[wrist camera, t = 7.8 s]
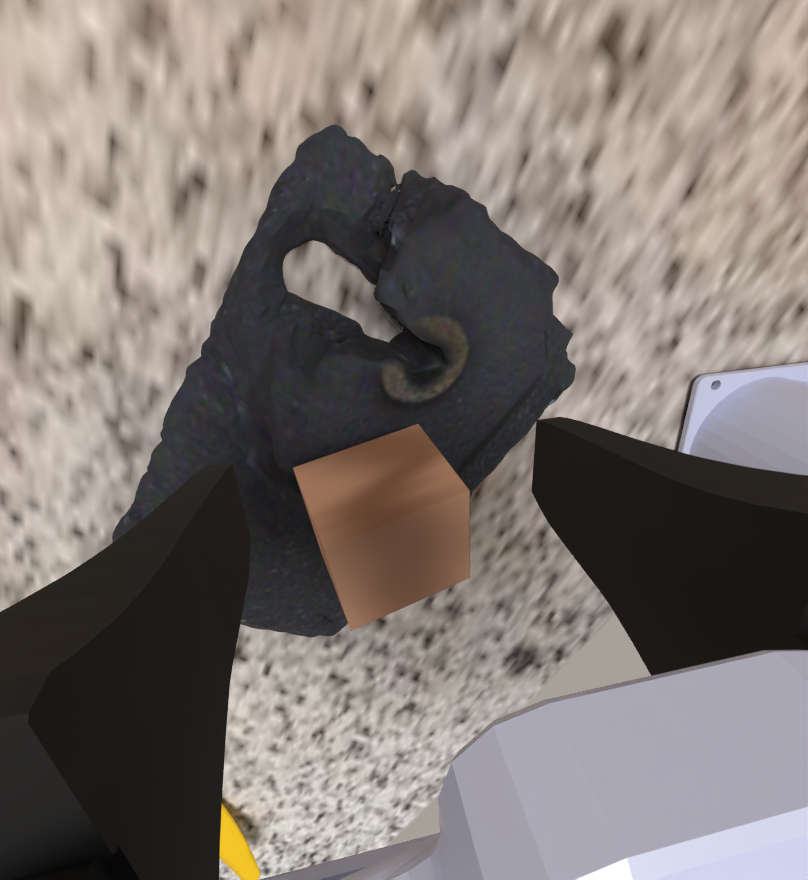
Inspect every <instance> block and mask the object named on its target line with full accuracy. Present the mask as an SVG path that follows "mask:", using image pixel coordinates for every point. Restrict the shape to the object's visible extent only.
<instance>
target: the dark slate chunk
mask: <svg viewBox="0 0 808 880" xmlns="http://www.w3.org/2000/svg"><path fill="white" fill-rule="evenodd" d="M393 185H396V190H393V191H392V192H390V190H391V187H392V186H393ZM398 189H401V190H400V193H399V192H398ZM311 240H315V241H319V242H322V243H325V244H327V245H328V246H329V247H330V248H331V249H332V250H333V251H334V252H336V253H337V254H340V255H342V256H344V257H345V258H346V259H347V260H349V261H350V262H352V263H354V264H355V265H357V266H358V267H359V268H360V270H361V272H362V273H363V275H364V276H365V278H366V279H367V280H368V281H369V282H370V283H372V284H375V285H376V288H375V291H374V296H375V299H376V300H378V301H379V302H380V303H381V305H382V306H383V307H384V308H385V309H386V310H387V311H388V312H389V313H390V314H391V315H392V316H393V317H394V318H395V319H396V320H398V321H399V322H400V323H401V324H402V325H403V326H404V330H403V332H401V333H400V334H398V335H397V336H395V337H394V338H393V339H392V340H391V341H390V342H389V343H388V342H385V341H382V340H379V339H375V338H372V337H369V336H367V335H365V334H364V333H363V330H362V328H361V326H360V324H359V323H358V322H356V321H354V320H352V319H350V318H348V317H345V316H344V315H342V314H340V313H338V312H336V311H334V310H331V309H328V308H325V307H323V306H320V305H317V304H314V303H311V302H309V301H307V300H304V299H302V298H301V297H299V296H297V295H295V294H293V293H290V292H288V291H287V290H286V287H285V284H284V282H283V271H282V266H283V260H284V258H285V255H286V254H287V253H288V252H289V251H290V250H291V249H293V248H294V247H296V246H298V245H300V244H302V243H305V242H307V241H311ZM558 282H559V277H558V275H557V274H556V272H555V271H554V270H553V269H552V268H551V267H550V266H548V265H547V264H545V263H544V262H543V261H542V260H541V259H540V258H538V257H537V256H535V255H534V254H532V253H530V252H528V251H526V250H524V249H523V248H522V247H521V246H520V245H519V244H518V243H517V242H516V241H515V240H514V239H513V238H512V237H510V236H509V235H507V234H506V233H504V232H502V231H500V229H499V228H498V227H497V226H496V225H495V224H494V223H493V222H492V221H491V220H490V218H489V216H488V212H487V209H486V207H485V206H484V205H482V204H480V203H478V202H476V201H475V200H473V199H471V197H470V195H469V194H468V193H467V192H466V191H464V190H462V189H460V188H457V187H455V186H452V185H445V184H443V183H442V182H440V181H439V180H438V179H436V178H435V177H432V178H424V177H422V176H420V175H419V174H418V173H417V172H416V171H414V170H410V171H408V172H406V173H405V174H404V175H403V179H402V184H397V183H396V179H395V174H394V168H393V166H392V164H391V163H390V161H389V160H388V159H387V158H386V157H384V156H383V155H379V156H376V155H374V154H373V153H371V152H370V151H369V150H368V149H367V147H366V146H365V145H364V144H363V143H362V142H361V141H360V140H359V139H358V138H355V137H350V136H347V134H346V132H345V130H344V129H343V128H342V127H340V126H338V125H331V126H329V127H327V128H325V129H323V130H322V131H320V132H318V133H316V134H314V135H312V136H310V137H309V138H307V139H306V140H305V141H304V142H303V143H301V144H300V145H299V146H298V149H297V151H296V157H295V160H294V162H293V163H292V164H291V165H290V166H289V167H288V168H286V169H285V171H284V172H283V173H282V174H281V176H280V177H279V178H278V180H277V182H276V183H275V185H274V187H273V188H272V190H271V193H270V196H269V200H268V204H267V208H266V210H265V212H264V213H263V215H262V216H261V218H260V220H259V223H258V227H257V230H256V232H255V234H254V236H253V237H252V238H251V240H250V241H249V242H248V244H247V245H246V247H245V249H244V251H243V253H242V256H241V259H240V262H239V264H238V266H237V268H236V270H235V272H234V274H233V276H232V278H231V281H230V284H229V287H228V289H227V290H226V292H225V294H224V297H223V303H222V305H221V307H220V308H219V310H218V311H217V313H216V316H215V319H214V320H213V321H212V323H211V331H210V337H209V338H208V339H207V340H206V341H205V342H204V343H203V345H202V349H201V357H200V358H199V359H197V360H196V361H195V362H193V363H192V364H191V365H189V366H188V367H187V370H186V377H185V380H184V382H183V384H182V386H181V387H180V389H179V391H178V392H177V394H176V395H175V397H174V398H173V400H172V402H171V404H170V406H169V408H168V410H167V413H166V415H165V418H164V422H163V429H162V431H161V438H162V441H161V442H160V443H159V444H158V446H157V447H156V448H155V449H154V451H153V452H152V455H151V460H150V463H149V465H148V467H147V469H148V471H147V472H146V473H145V474H144V475H143V476H142V478H141V480H140V483H139V486H138V489H137V492H136V496H135V500H134V502H133V504H132V506H131V508H130V509H129V510H128V512H127V513H126V514H125V515H124V516H123V517H122V518H121V520H120V521H119V523H118V525H117V526H116V528H115V530H114V532H113V542H115V541H116V540H117V539H119V538H120V537H121V536H122V535H124V534H125V533H126V532H127V531H129V530H130V529H131V528H132V527H134V526H135V525H136V524H137V523H139V522H140V521H141V520H142V519H144V518H145V517H146V516H147V515H149V514H150V513H151V512H152V511H153V510H154V509H156V508H157V507H158V506H159V505H160V504H161V503H162V502H164V501H165V500H166V499H167V498H168V497H169V496H170V495H172V494H173V493H174V492H175V491H176V490H177V489H178V488H179V487H180V486H182V485H183V484H184V483H185V482H186V481H187V480H188V479H189V478H191V477H192V476H193V475H194V474H195V473H196V472H198V471H199V470H200V469H202V468H203V467H206V466H214V465H221V464H228V463H232V464H233V468H234V472H235V476H236V480H237V484H238V488H239V492H240V496H241V500H242V504H243V508H244V512H245V516H246V520H247V524H248V528H249V532H250V536H251V548H250V571H249V579H248V585H247V591H246V596H245V601H244V607H243V612H242V617H241V622H240V624H242V625H246V626H248V627H252V628H257V629H268V630H273V631H277V632H288V633H290V634H294V635H300V636H306V637H315V636H318V635H322V636H333V635H335V634H336V633H337V632H339V631H340V630H341V629H342V628H343V627H344V626H345V625H346V624H347V623H348V622H347V619H346V617H345V614H344V611H343V609H342V606H341V603H340V601H339V598H338V595H337V593H336V590H335V587H334V585H333V582H332V580H331V577H330V574H329V572H328V569H327V566H326V564H325V561H324V558H323V556H322V553H321V550H320V547H319V544H318V541H317V538H316V535H315V532H314V529H313V526H312V523H311V520H310V517H309V514H308V511H307V508H306V505H305V502H304V499H303V496H302V493H301V490H300V487H299V484H298V481H297V478H296V475H295V472H294V470H293V468H294V467H297V466H299V465H302V464H305V463H308V462H311V461H314V460H317V459H319V458H322V457H325V456H328V455H331V454H334V453H337V452H339V451H342V450H345V449H348V448H351V447H354V446H356V445H359V444H362V443H365V442H368V441H371V440H374V439H376V438H379V437H382V436H385V435H388V434H391V433H393V432H396V431H399V430H402V429H405V428H408V427H411V426H413V425H416V424H419V426H420V427H421V428H422V429H423V431H424V432H425V433H426V435H427V436H428V437H429V439H430V440H431V441H432V442H433V444H434V445H435V446H436V448H437V449H438V450H439V452H440V453H441V454H442V455H443V457H444V458H445V459H446V461H447V462H448V463H449V465H450V466H451V467H452V468H453V470H454V471H455V472H456V474H457V475H458V476H459V478H460V479H461V480H462V481H463V483H464V484H465V485H466V487H467V488H468V489H469V491H470V497H471V494H472V492H473V490H474V489H475V488H476V487H477V486H478V485H479V484H480V483H481V482H482V481H483V480H484V479H485V478H486V477H487V476H488V475H489V474H490V473H491V472H492V471H493V470H494V469H495V468H496V467H497V466H498V464H499V463H500V462H501V461H502V459H503V458H504V456H505V455H506V454H507V453H508V451H509V450H510V449H511V448H512V447H513V446H515V445H516V444H517V443H518V442H519V441H520V440H521V439H522V438H523V437H524V436H525V435H526V434H527V433H528V432H529V430H530V429H531V428H532V426H533V425H534V423H535V422H536V421H537V420H538V419H539V417H540V416H541V415H542V413H543V412H544V410H545V409H546V408H547V407H548V406H549V405H550V404H552V403H554V402H555V401H556V400H557V399H558V398H559V396H560V395H561V393H562V392H563V391H564V390H566V389H567V388H568V387H570V385H571V384H572V383H573V381H574V378H575V370H576V368H575V365H574V364H572V363H571V362H570V361H569V360H568V359H567V352H566V348H567V345H568V343H569V341H570V339H571V337H572V335H573V334H572V333H571V332H570V331H569V330H568V329H567V328H566V327H565V326H564V325H563V324H562V323H561V322H560V321H559V320H558V319H557V318H556V317H555V316H554V315H553V301H552V296H553V292H554V290H555V288H556V286H557V284H558Z"/></svg>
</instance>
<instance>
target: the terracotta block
mask: <svg viewBox="0 0 808 880" xmlns="http://www.w3.org/2000/svg"><path fill="white" fill-rule="evenodd" d="M293 470H294V472H295V475H296V478H297V481H298V484H299V487H300V490H301V493H302V496H303V499H304V502H305V505H306V508H307V511H308V514H309V517H310V520H311V523H312V526H313V529H314V532H315V535H316V538H317V541H318V544H319V547H320V550H321V553H322V556H323V558H324V561H325V564H326V566H327V569H328V572H329V574H330V577H331V580H332V582H333V585H334V587H335V590H336V593H337V595H338V598H339V601H340V603H341V606H342V609H343V611H344V614H345V617H346V619H347V622H348V624H349V627H350V630H351V631H352V630H355V629H357V628H359V627H361V626H363V625H366V624H368V623H370V622H372V621H375V620H377V619H379V618H381V617H383V616H386V615H388V614H390V613H392V612H394V611H397V610H399V609H401V608H403V607H406V606H408V605H410V604H412V603H414V602H417V601H419V600H421V599H423V598H425V597H428V596H430V595H432V594H434V593H437V592H439V591H441V590H443V589H445V588H448V587H450V586H452V585H454V584H456V583H459V582H461V581H463V580H465V579H468V578H470V491H469V489H468V488H467V487H466V485H465V484H464V483H463V481H462V480H461V479H460V478H459V476H458V475H457V474H456V472H455V471H454V470H453V468H452V467H451V466H450V465H449V463H448V462H447V461H446V459H445V458H444V457H443V455H442V454H441V453H440V452H439V450H438V449H437V448H436V446H435V445H434V444H433V442H432V441H431V440H430V439H429V437H428V436H427V435H426V433H425V432H424V431H423V429H422V428H421V427H420V426H419V424H416V425H413V426H411V427H408V428H405V429H402V430H399V431H396V432H393V433H391V434H388V435H385V436H382V437H379V438H376V439H374V440H371V441H368V442H365V443H362V444H359V445H356V446H354V447H351V448H348V449H345V450H342V451H339V452H337V453H334V454H331V455H328V456H325V457H322V458H319V459H317V460H314V461H311V462H308V463H305V464H302V465H299V466H297V467H294V468H293Z"/></svg>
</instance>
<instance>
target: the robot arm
mask: <svg viewBox="0 0 808 880" xmlns="http://www.w3.org/2000/svg"><path fill="white" fill-rule="evenodd" d="M714 381H715V383H714V385H713V386H711V385H712V383H713V382H714ZM532 493H533V495H534V497H535V499H536V501H537V503H538V505H539V507H540V509H541V510H542V512H543V514H544V516H545V517H546V519H547V521H548V523H549V524H550V526H551V527H552V528H553V530H554V531H555V532H556V534H557V535H558V536H559V538H560V539H561V540H562V542H563V543H564V544H565V546H566V547H567V548H568V550H569V551H570V552H571V554H572V555H573V556H574V558H575V559H576V560H577V562H578V563H579V564H580V565H581V567H582V568H583V569H584V571H585V572H586V573H587V575H588V576H589V577H590V579H591V580H592V581H593V582H594V584H595V585H596V586H597V588H598V589H599V590H600V592H601V593H602V595H603V596H604V597H605V599H606V600H607V602H608V603H609V605H610V606H611V608H612V609H613V611H614V612H615V614H616V616H617V617H618V619H619V621H620V622H621V624H622V625H623V627H624V629H625V631H626V632H627V634H628V636H629V637H630V639H631V641H632V642H633V644H634V646H635V647H636V649H637V651H638V653H639V654H640V656H641V658H642V660H643V662H644V663H645V665H646V667H647V669H648V671H649V672H650V674H651V676H648V677H644V678H640V679H635V680H631V681H626V682H622V683H618V684H613V685H609V686H605V687H600V688H596V689H591V690H587V691H582V692H578V693H574V694H570V695H565V696H561V697H556V698H552V699H547V700H543V701H541V702H538V703H536V704H533V705H531V706H528V707H526V708H524V709H521V710H519V711H516V712H514V713H511V714H509V715H506V716H504V717H501V718H499V719H496V720H494V721H493V722H492V723H491V724H489V725H488V726H487V727H486V728H485V729H484V730H483V731H481V732H480V733H479V734H478V735H477V736H476V737H475V738H473V739H472V740H471V741H470V742H469V743H468V744H467V745H465V746H464V747H463V748H462V749H461V750H460V751H459V752H458V753H457V754H456V756H455V758H454V759H453V761H452V763H451V765H450V768H449V771H448V773H447V776H446V779H445V782H444V784H443V787H442V790H441V792H440V795H439V798H438V802H439V803H438V804H439V824H440V833H437V834H434V835H430V836H426V837H422V838H418V839H414V840H410V841H407V842H403V843H399V844H395V845H392V846H387V847H383V848H379V849H376V850H372V851H368V852H364V853H360V854H356V855H353V856H349V857H345V858H341V859H337V860H333V861H330V862H326V863H322V864H318V865H314V866H310V867H306V868H303V869H299V870H295V871H291V872H287V873H283V874H280V875H276V876H272V877H268V878H264V879H260V880H808V362H804V363H795V364H787V365H779V366H771V367H762V368H754V369H746V370H737V371H729V372H721V373H713V374H704V375H701V376H699V377H698V378H697V379H696V380H695V381H694V384H693V387H692V392H691V396H690V400H689V405H688V409H687V413H686V418H685V422H684V427H683V431H682V435H681V440H680V444H679V448H678V451H675V450H671V449H667V448H664V447H660V446H657V445H653V444H650V443H647V442H643V441H640V440H637V439H634V438H631V437H628V436H625V435H622V434H619V433H615V432H612V431H609V430H606V429H603V428H600V427H597V426H594V425H591V424H587V423H584V422H581V421H577V420H573V419H569V418H563V417H556V418H549V419H542V420H537V422H536V437H535V451H534V466H533V481H532ZM250 548H251V536H250V532H249V528H248V524H247V520H246V516H245V512H244V508H243V504H242V500H241V496H240V492H239V488H238V484H237V480H236V476H235V472H234V468H233V464H232V463H228V464H221V465H214V466H206V467H203V468H202V469H200V470H199V471H198V472H196V473H195V474H194V475H193V476H192V477H191V478H189V479H188V480H187V481H186V482H185V483H184V484H183V485H182V486H180V487H179V488H178V489H177V490H176V491H175V492H174V493H173V494H172V495H170V496H169V497H168V498H167V499H166V500H165V501H164V502H162V503H161V504H160V505H159V506H158V507H157V508H156V509H154V510H153V511H152V512H151V513H150V514H149V515H147V516H146V517H145V518H144V519H142V520H141V521H140V522H139V523H137V524H136V525H135V526H134V527H132V528H131V529H130V530H129V531H127V532H126V533H125V534H124V535H122V536H121V537H120V538H119V539H117V540H116V541H115V542H113V543H112V544H111V545H109V546H108V547H107V548H105V549H104V550H102V551H101V552H99V553H98V554H97V555H95V556H94V557H92V558H91V559H89V560H88V561H86V562H85V563H83V564H82V565H80V566H79V567H77V568H76V569H74V570H73V571H71V572H69V573H68V574H66V575H65V576H63V577H61V578H60V579H58V580H56V581H54V582H53V583H51V584H49V585H47V586H46V587H44V588H42V589H40V590H39V591H37V592H35V593H33V594H32V595H30V596H28V597H26V598H25V599H23V600H21V601H19V602H18V603H16V604H14V605H12V606H11V607H9V608H7V609H5V610H3V611H1V612H0V880H219V857H220V832H221V809H222V787H223V770H224V754H225V738H226V724H227V711H228V699H229V686H230V679H231V672H232V665H233V659H234V654H235V649H236V643H237V638H238V633H239V628H240V622H241V617H242V612H243V607H244V601H245V596H246V591H247V585H248V579H249V571H250Z"/></svg>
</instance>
